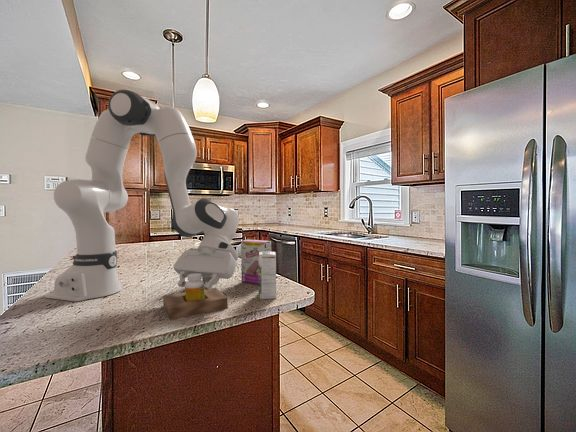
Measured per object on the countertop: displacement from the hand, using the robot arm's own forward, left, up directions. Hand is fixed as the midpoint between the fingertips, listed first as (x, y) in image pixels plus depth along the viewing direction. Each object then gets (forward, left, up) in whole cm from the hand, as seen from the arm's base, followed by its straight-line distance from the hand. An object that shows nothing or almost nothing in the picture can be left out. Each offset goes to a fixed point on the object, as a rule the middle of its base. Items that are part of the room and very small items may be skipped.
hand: (193, 287), depth 83 cm
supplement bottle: (0, +1, -6) cm, 6 cm away
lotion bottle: (-5, +26, -6) cm, 27 cm away
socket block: (0, +1, -6) cm, 6 cm away
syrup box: (+20, +12, -6) cm, 24 cm away
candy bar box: (+13, +28, -6) cm, 31 cm away
